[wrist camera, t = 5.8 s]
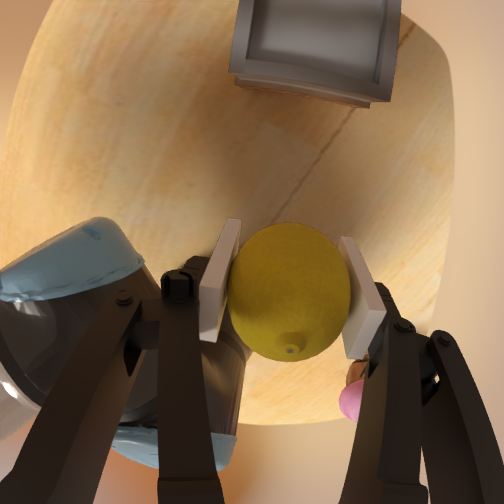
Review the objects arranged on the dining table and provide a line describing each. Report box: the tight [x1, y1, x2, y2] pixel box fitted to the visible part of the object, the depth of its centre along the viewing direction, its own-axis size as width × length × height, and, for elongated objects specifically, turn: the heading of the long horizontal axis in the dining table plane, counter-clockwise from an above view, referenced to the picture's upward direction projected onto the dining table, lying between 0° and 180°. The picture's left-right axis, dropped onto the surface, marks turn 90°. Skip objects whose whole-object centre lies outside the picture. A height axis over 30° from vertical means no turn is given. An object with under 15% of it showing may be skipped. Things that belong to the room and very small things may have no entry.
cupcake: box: [339, 361, 368, 422], centre depth 40 cm, size 9×9×10 cm
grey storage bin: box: [228, 0, 401, 108], centre depth 19 cm, size 12×12×12 cm
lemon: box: [227, 223, 351, 362], centre depth 13 cm, size 6×6×8 cm
